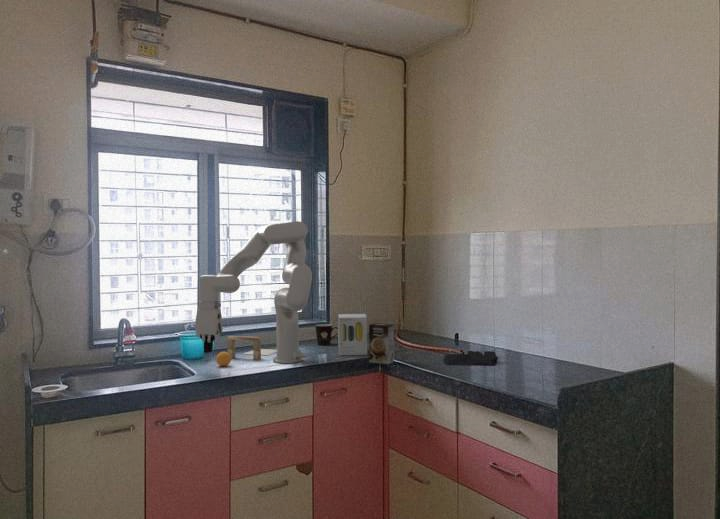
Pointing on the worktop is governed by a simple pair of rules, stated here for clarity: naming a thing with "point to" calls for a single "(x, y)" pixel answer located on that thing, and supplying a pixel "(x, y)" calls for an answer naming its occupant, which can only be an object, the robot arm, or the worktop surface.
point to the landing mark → (263, 352)
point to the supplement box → (352, 334)
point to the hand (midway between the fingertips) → (208, 352)
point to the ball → (223, 358)
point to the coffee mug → (324, 334)
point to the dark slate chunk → (472, 359)
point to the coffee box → (381, 343)
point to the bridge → (255, 339)
